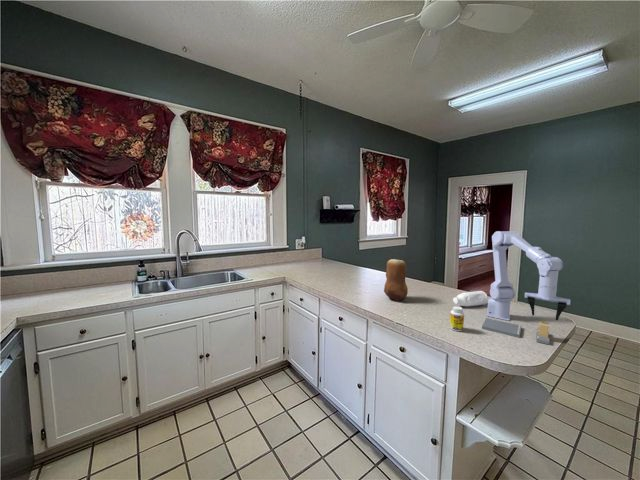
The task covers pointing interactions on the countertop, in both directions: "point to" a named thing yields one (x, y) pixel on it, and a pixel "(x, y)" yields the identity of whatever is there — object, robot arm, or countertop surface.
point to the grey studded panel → (502, 327)
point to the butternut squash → (396, 280)
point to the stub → (543, 333)
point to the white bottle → (471, 299)
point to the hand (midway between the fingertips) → (544, 317)
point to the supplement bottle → (457, 319)
